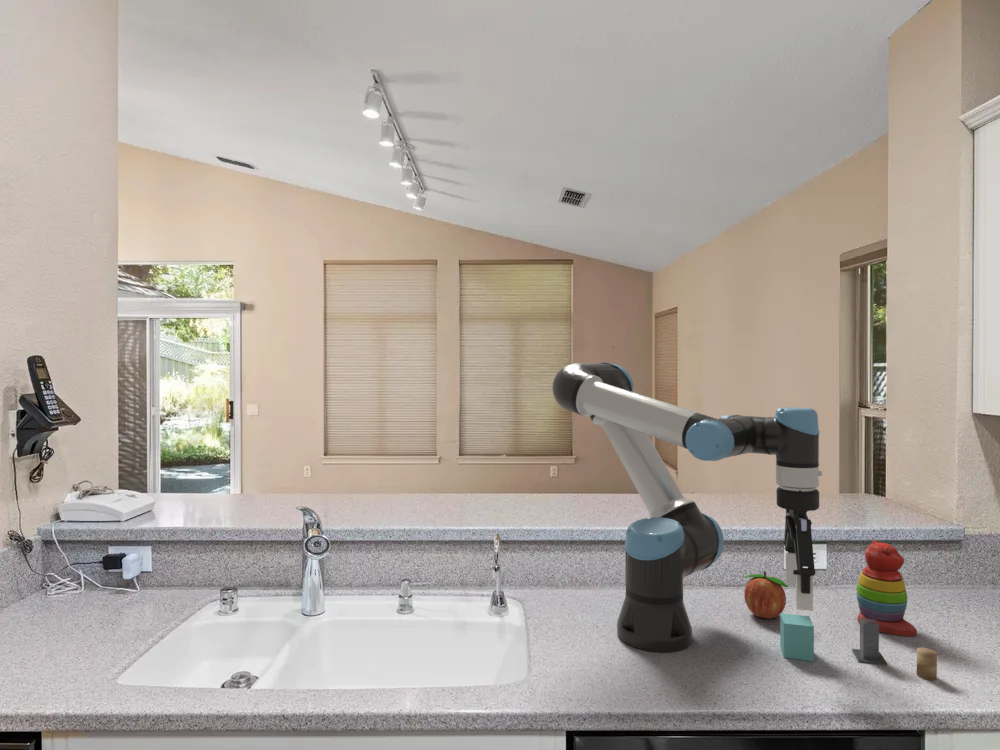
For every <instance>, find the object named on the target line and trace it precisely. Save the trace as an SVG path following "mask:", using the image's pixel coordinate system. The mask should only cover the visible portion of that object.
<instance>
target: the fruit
mask: <svg viewBox="0 0 1000 750" xmlns="http://www.w3.org/2000/svg"><path fill="white" fill-rule="evenodd" d="M743 578H744V579H745V578H751V579H749V581H748V582H747V583H746V585H745V587H744V590H743V591H744V601H745V604H746V606H747V608H748V610H749V611H750V612H751V613H752V614H753V615H755V616H756V617H758V618H761V619H762V618H763V619H775V618H777V617H778V616H780V613H783V612H784V609H785V608H786V604H787V603H786V602H787V596H786V591H785V589H784V588H789V585H786V582H785V581H783V580H782V579H779V578H777V577H774V576H767V571H766V570H765V571H764V570H763V574H761V573H754V574H753V573H752V574H749V575H746V576H744V577H743Z"/></svg>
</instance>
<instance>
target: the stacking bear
mask: <svg viewBox="0 0 1000 750" xmlns="http://www.w3.org/2000/svg"><path fill="white" fill-rule="evenodd" d="M864 552H865V553H864V558H865V563H866V565H867V566H865V567H864V568H863V569H862V571H861V572H860V574H859V577H858V581H857V584H856V585H857V586H856V599H857V603H858V608H859V613H858V615H857V619H856V620H857V622H858V623H859V624H860V618H864V619H874V620H876V622H877V623H878V624H879V633H882V634H883V633H884V634H889V635H894V636H895V635H896V636H902V637H903V636H904V637H915V636H916V635H918V630H917V628H916V627H915V626H914V625H913V624H911V623H910V622H909V621H907V620H905V619H904V617H905V613H906V609H907V605H908V592H907V589H906V584H905V580H904V579H903V575H902V573H901V572H899V571H900V569H901V568H902V567H903V566H904V563H905V558H904V557H903V556H902V555H901V554H900V553H899V552H898V550H897V549H896V548H895V547H894V545H891V544H889V543H886V542H879V541H878V540H877V539H874V540H872V541H871V544H870V545H868V546H867V548H866V549H865V551H864Z"/></svg>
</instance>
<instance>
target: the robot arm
mask: <svg viewBox="0 0 1000 750" xmlns="http://www.w3.org/2000/svg"><path fill="white" fill-rule="evenodd" d="M634 389H635V385H634V380H633V378H632V377H631V375H630V373H629V372H628V371H627V370H626V369H625V368H624V367H623V366H621V365H618V364H616V363H611V362H606V361H605V362H598V363H596V362H595V363H592V362H591V363H589V362H586V363H585V362H583V363H582V362H574V363H570V364H567V365H565V366H564V367H562V368H560V369H559V370H558V371H557V373H556V375H555V376H554V379H553V382H552V394H553V398H554V399H555V401H556V403H557V404H558V405H559V406H560V407H561V408H563V409H564V410H567V411H568V412H570V413H571V412H572V413H575V414H576V415H580V416H582V417H589V418H590V420H591V421H592V423H593V424H594V425H596V426H600V427H602V429H603V431H604V433H605V434H606V437H607V438H608V440H609V441H610V443H611V446H612V448H613V449H614V451H615V452H616V455H617V457H618V458H619V460H620V462H621V463H622V466H623V467H624V469H625V470H626V472H627V474H628V476H629V478H630V480H631V482H632V483H633V485H634V487H635V489H636V491H637V493H638V494H639V496H640V498H641V500H642V501H643V504H644V506H645V508H646V509H647V511H648V513H649V515H650V517H649V518H646V517H645V518H642V519H638V520H636V521H634V522H632V523H631V524H629V526H628V527H627V529H626V532H625V542H624V550H625V597H624V601H623V604H622V606H621V609H620V613H619V616H618V618H617V621H616V622H617V623H616V634H617V637H618V638H619V639H620V640H621V641H622V642H624V643H625V644H627V645H629V646H632V647H634V648H637V649H640V650H645V651H651V652H661V653H667V652H669V653H670V652H675V651H680V650H683V649H686V648H687V647H689V646H690V645H691V644H692V642H693V628H692V625H691V622H690V618H689V616H688V615H689V614H688V612H687V609H686V608H687V607H686V606H685V601H684V578H685V577H689V576H690V575H692V574H694V573H697V572H699V571H704V570H705V569H708V568H710V567H711V566H712V565H713V564H715V563H716V562H717V561H718V560H719V559H720V557H721V555H722V554H723V550H724V545H725V538H724V533H723V529H722V528H721V526H720V524H718V522H717V521H716V520H715V519H714V518H713V517H712V516H711V515H707V514H706V513H703V512H701V510H700V508H699V507H698V505H697V504H696V502H695V500H694V499H693V500H692V499H688V498H686V497H685V496H684V495H683V493H682V491H681V490H680V488H679V486H678V484H677V483H676V481H675V479H674V478H673V475H672V474H671V473H670V470H669V469H668V467H667V466H666V464H665V462H664V461H663V459H662V457H661V455H660V453H659V452H658V450H657V449H656V446H655V444H654V443H653V442H652V439H651V438H650V437H653V438H656V439H659V440H661V441H664V442H667V443H670V444H672V445H675V446H679V447H681V448H683V449H687V450H688V452H689V453H690V454H691V455H692V456H693V457H694V458H695V459H697V460H700V461H704V462H705V461H706V462H709V461H710V462H711V461H712V462H717V461H720V460H723V459H726V458H730V457H736V456H741V455H744V454H745V455H746V454H758V455H760V454H762V455H770V456H771V455H772V456H775V462H776V464H775V483H776V485H777V488H776V489H775V490H776V505H777V506H778V507H779V509H780V508H781V509H784V510H785V517H784V518H785V522H784V523H785V524H784V536H783V537H784V539H783V542H782V543H783V546H784V550H785V553H784V555H785V556H784V557H785V584H786V585H788V586H791V587H793V586H795V609H796V610H799V611H811V612H813V611H814V587H813V584H814V579H813V578H814V576H816V570H815V569H816V568H815V559H814V548H813V536H812V521H811V519H809V516H808V514H807V512H809V511H811V512H814V511H816V510H818V509H820V491H819V490H818V489H817V488H818V487H819V486H820V481H819V480H820V478H819V477H822V476H823V472H822V470H819V468H820V467H819V466H820V462H819V461H820V459H819V458H820V457H819V456H820V455H819V454H820V448H819V447H820V435H821V434H820V429H819V427H820V426H819V416H818V413H817V411H816V410H815V409H813V408H810V407H779V408H777V409H776V411H775V415H774V416H771V417H770V416H769V417H765V416H752V415H751V416H750V415H740V414H734V415H733V414H731V415H722V416H721V417H719V418H716V417H713V416H709V415H706V414H703V413H699V412H696V411H693V410H691V409H687V408H684V407H681V406H679V405H678V406H677V405H676V404H671V403H669V402H665V401H662V400H658V399H657V398H653V397H649V396H646V395H643V394H639V393H637V392H634V391H633V390H634Z"/></svg>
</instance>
